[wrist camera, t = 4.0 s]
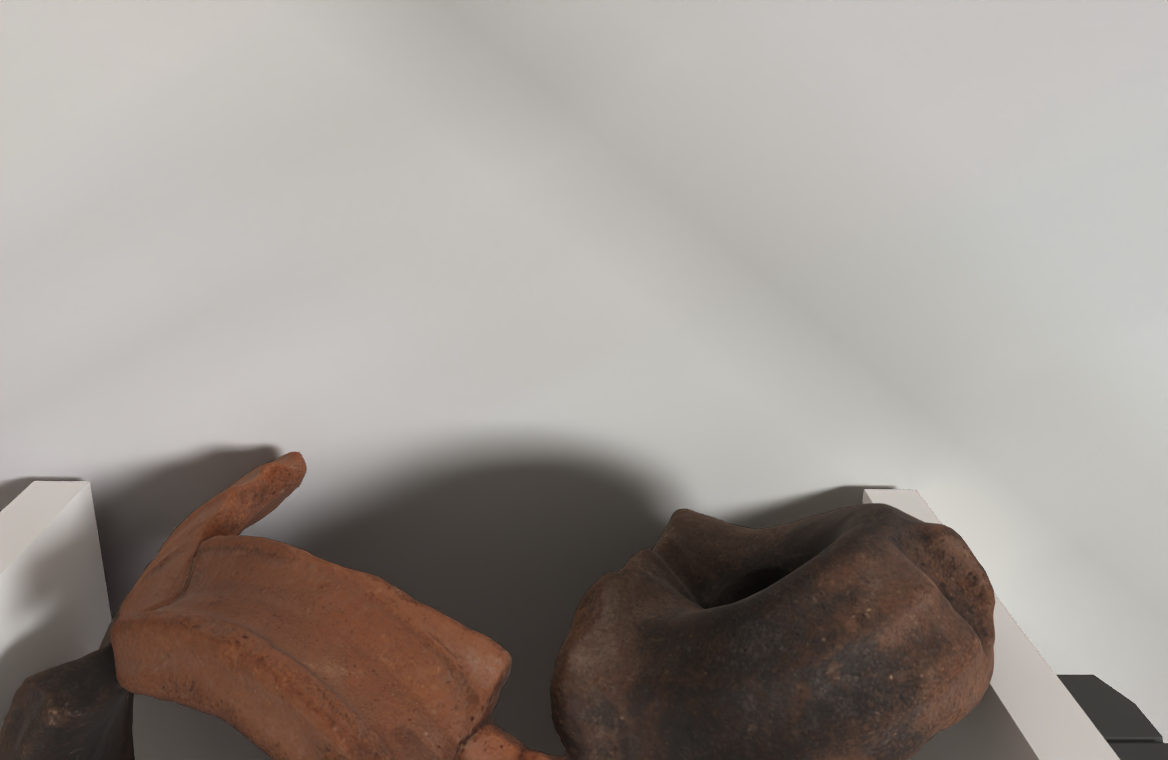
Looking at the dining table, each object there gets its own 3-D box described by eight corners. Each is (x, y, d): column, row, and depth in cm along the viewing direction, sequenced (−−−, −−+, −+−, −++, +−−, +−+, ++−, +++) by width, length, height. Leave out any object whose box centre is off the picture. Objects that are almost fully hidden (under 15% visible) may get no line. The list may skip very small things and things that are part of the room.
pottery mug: (569, 977, 19) (215, 1475, 11) (294, 547, 20) (-171, 748, 13) (1199, 696, 13) (1290, 1334, 6) (753, 129, 14) (379, 67, 7)
